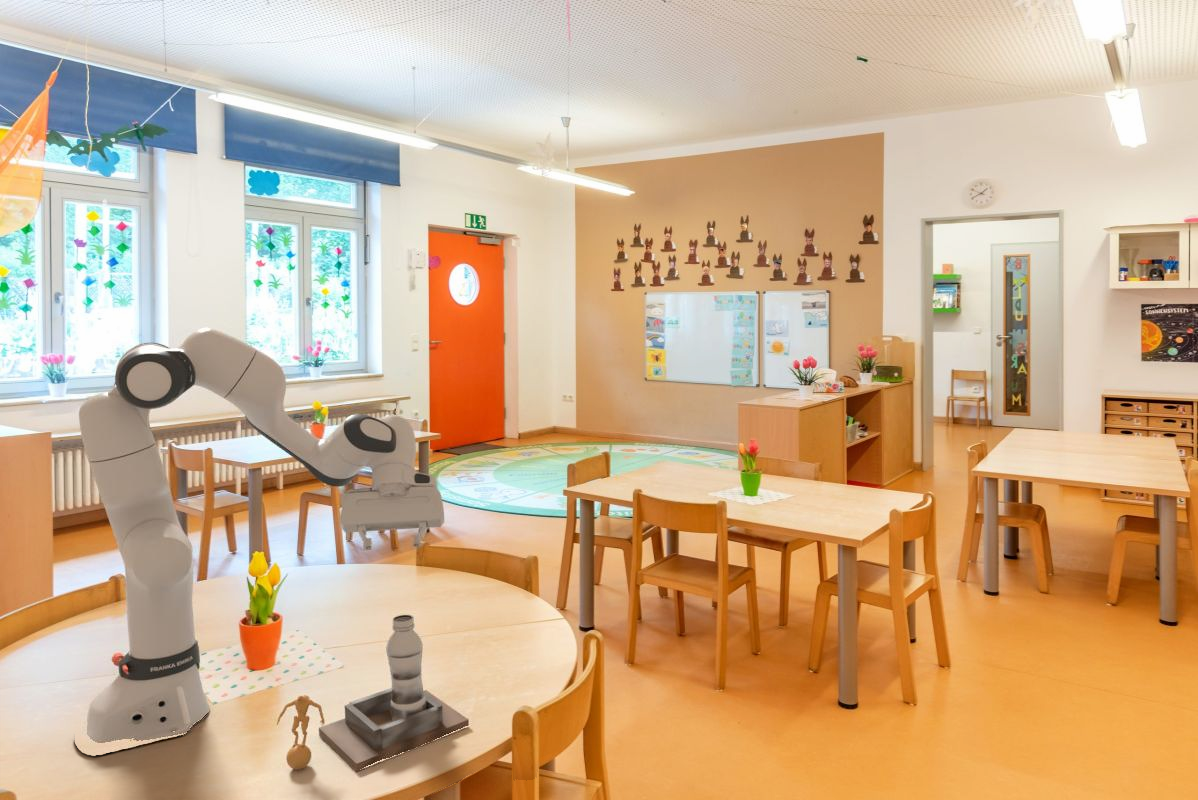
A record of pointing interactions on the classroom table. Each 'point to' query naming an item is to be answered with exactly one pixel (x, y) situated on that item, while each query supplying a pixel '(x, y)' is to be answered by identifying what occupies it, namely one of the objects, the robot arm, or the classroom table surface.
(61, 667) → the classroom table surface
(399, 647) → the plastic bottle
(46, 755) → the classroom table surface
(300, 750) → the figurine
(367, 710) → the bottle holder board
